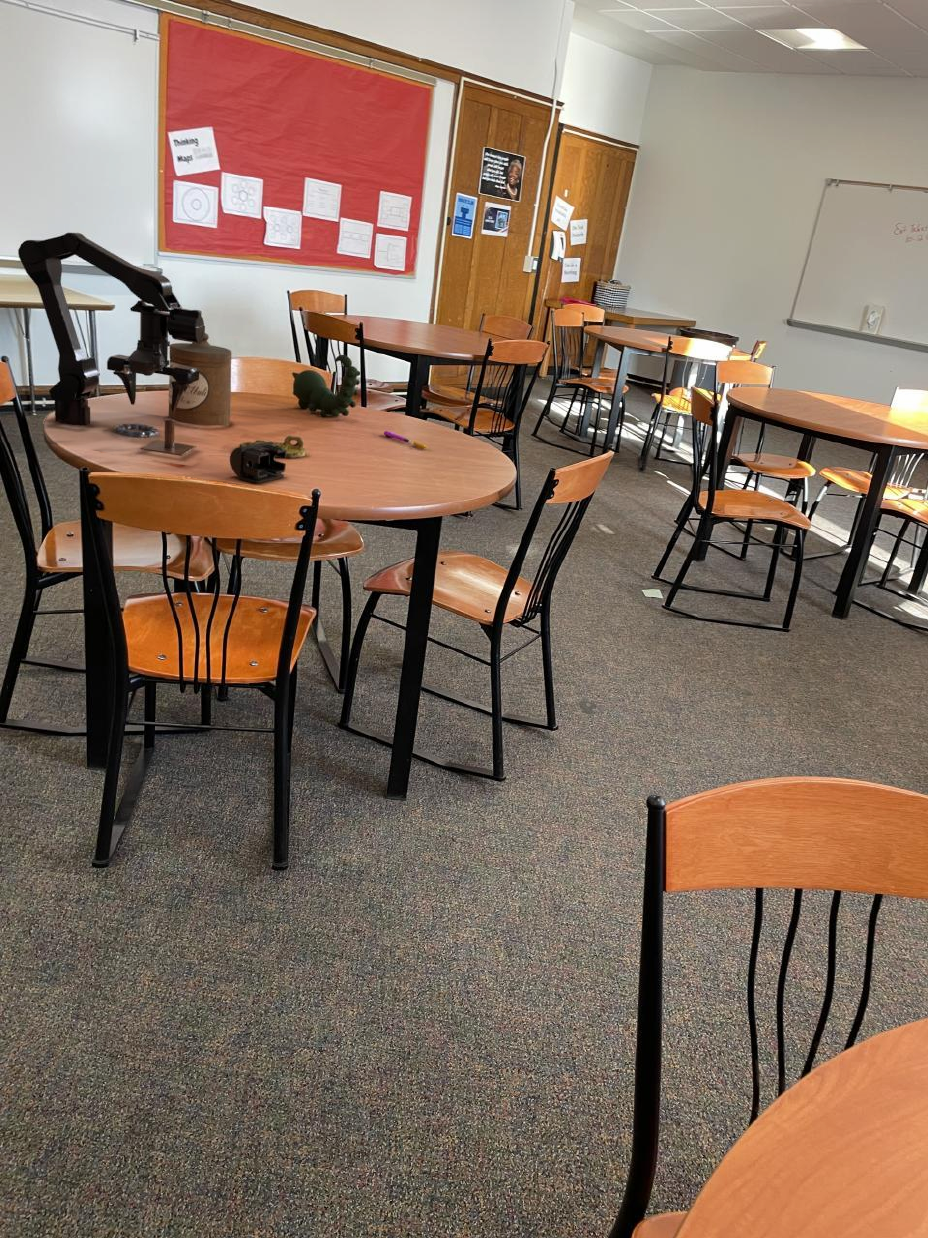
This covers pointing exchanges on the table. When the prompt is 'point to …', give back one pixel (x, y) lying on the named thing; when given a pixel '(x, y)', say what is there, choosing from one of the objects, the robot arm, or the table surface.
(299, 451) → the seal
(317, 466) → the table surface
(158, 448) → the stand
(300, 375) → the toy figurine
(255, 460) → the end cap
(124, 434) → the ring
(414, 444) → the purple paintbrush
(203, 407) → the wooden container
